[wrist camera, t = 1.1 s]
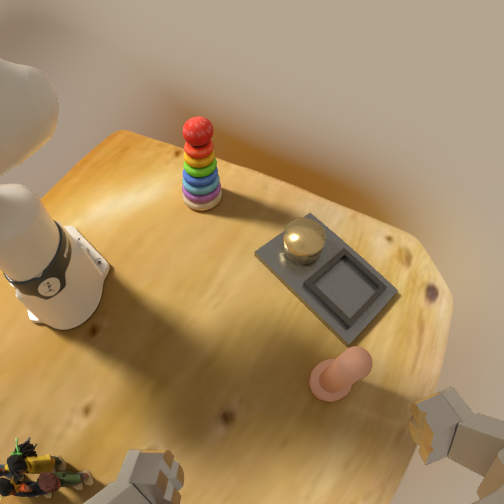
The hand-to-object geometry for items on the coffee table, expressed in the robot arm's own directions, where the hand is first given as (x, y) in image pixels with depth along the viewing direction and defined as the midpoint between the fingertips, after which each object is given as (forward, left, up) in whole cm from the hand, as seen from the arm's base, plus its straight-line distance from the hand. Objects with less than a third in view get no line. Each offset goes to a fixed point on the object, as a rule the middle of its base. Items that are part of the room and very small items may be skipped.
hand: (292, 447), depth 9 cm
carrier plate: (-12, +27, -36) cm, 46 cm away
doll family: (-13, -33, -36) cm, 50 cm away
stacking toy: (-40, +21, -36) cm, 57 cm away
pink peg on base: (+1, +14, -36) cm, 38 cm away
